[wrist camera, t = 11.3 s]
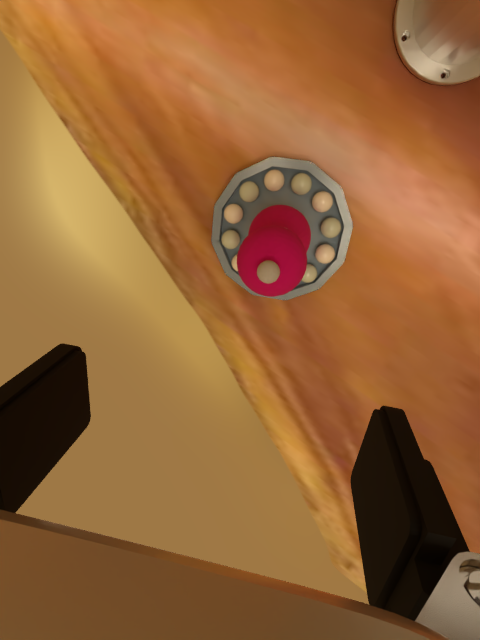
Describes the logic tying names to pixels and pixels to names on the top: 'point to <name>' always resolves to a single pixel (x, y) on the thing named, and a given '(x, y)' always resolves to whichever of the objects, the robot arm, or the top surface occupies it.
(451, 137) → the top surface
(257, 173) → the bead tray
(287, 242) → the pepper mill
